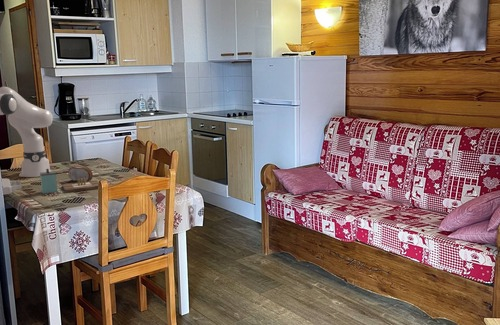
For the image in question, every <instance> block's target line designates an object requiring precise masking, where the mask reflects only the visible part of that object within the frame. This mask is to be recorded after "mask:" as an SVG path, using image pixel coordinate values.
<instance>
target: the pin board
mask: <svg viewBox="0 0 500 325" xmlns="http://www.w3.org/2000/svg"><path fill="white" fill-rule="evenodd" d="M80 181H81V182H80ZM80 181H79V179H77V181H76V182H70V183H62V184H61V187H62V189H63V190H64V192H65V193H66V194H68V193H76V192H85V191H91V190H99V189H98V182H99V181H98V180H90V181H85V178H83V181H84V182H83V181H82V178H80Z"/></svg>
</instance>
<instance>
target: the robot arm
mask: <svg viewBox="0 0 500 325" xmlns="http://www.w3.org/2000/svg"><path fill="white" fill-rule="evenodd" d="M3 115H6V116H7V120H8V124H10V126H12V127H13V128H14V129H15V130H16V131H17V132H18V135H19V136H20V138H21V141H22V142H21V143H22V147H23V148H22V149H23V154H22V156H23V160H22V161H21V163H20V168H21V171H20V173H19V175H18V177H25V178H37V177H40V173H42V172H46V169H49V172H51V171H53V170H51V168H50V161H49V159H48V158H47V157H46V150H45V146H44V138H43V136H41V134H38V133H37V132H36V131H35V129H43V128H47V127H50V126H51V125H52V124H53V120H54V117H53V114H52V112H51V111H50V110H48V109H44V108H41V107H39V106H37V105H35V104H32V103H31V102H29V101H27V99H25V98H24V97H23V96H21V95H20V94H19V93H17V91H16V90H14V89H13V88H10V87H9V86H1V87H0V116H3ZM1 179H2V186H3V195H10V194H12V193H13V191H17V190H21V189H22V188H23V186H22V184H21V181H20V180H10V178H1Z"/></svg>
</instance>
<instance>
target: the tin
mask: <svg viewBox="0 0 500 325" xmlns="http://www.w3.org/2000/svg"><path fill="white" fill-rule="evenodd" d="M67 172H68V178H69V179H70V180H71V181H73V182H78V181H77V179H79V181H80V178H82V181H83V178H85V181H92V180H93V177H94V175H93V172H92V170H91V168H89V167H87V166H79V165H73V166H71V167H70V168H69V169H68V171H67ZM80 182H81V181H80ZM83 182H84V181H83Z"/></svg>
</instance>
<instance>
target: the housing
mask: <svg viewBox="0 0 500 325" xmlns="http://www.w3.org/2000/svg"><path fill="white" fill-rule="evenodd" d="M39 177H40V186H41V193H42V194H43V195H44V194H53V193H58V182H57V172H56V171H54V170H52V171H51V172H49V169H46V172H42V173H40V176H39Z"/></svg>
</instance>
